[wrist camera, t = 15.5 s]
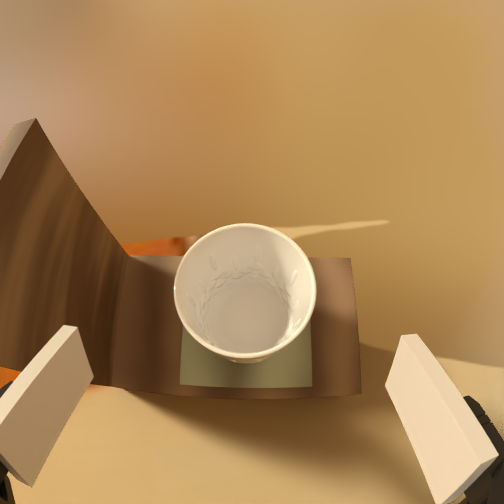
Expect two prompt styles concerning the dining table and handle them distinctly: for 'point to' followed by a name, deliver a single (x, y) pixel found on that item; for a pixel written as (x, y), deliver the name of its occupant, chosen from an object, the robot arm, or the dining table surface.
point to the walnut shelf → (139, 298)
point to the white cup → (245, 292)
